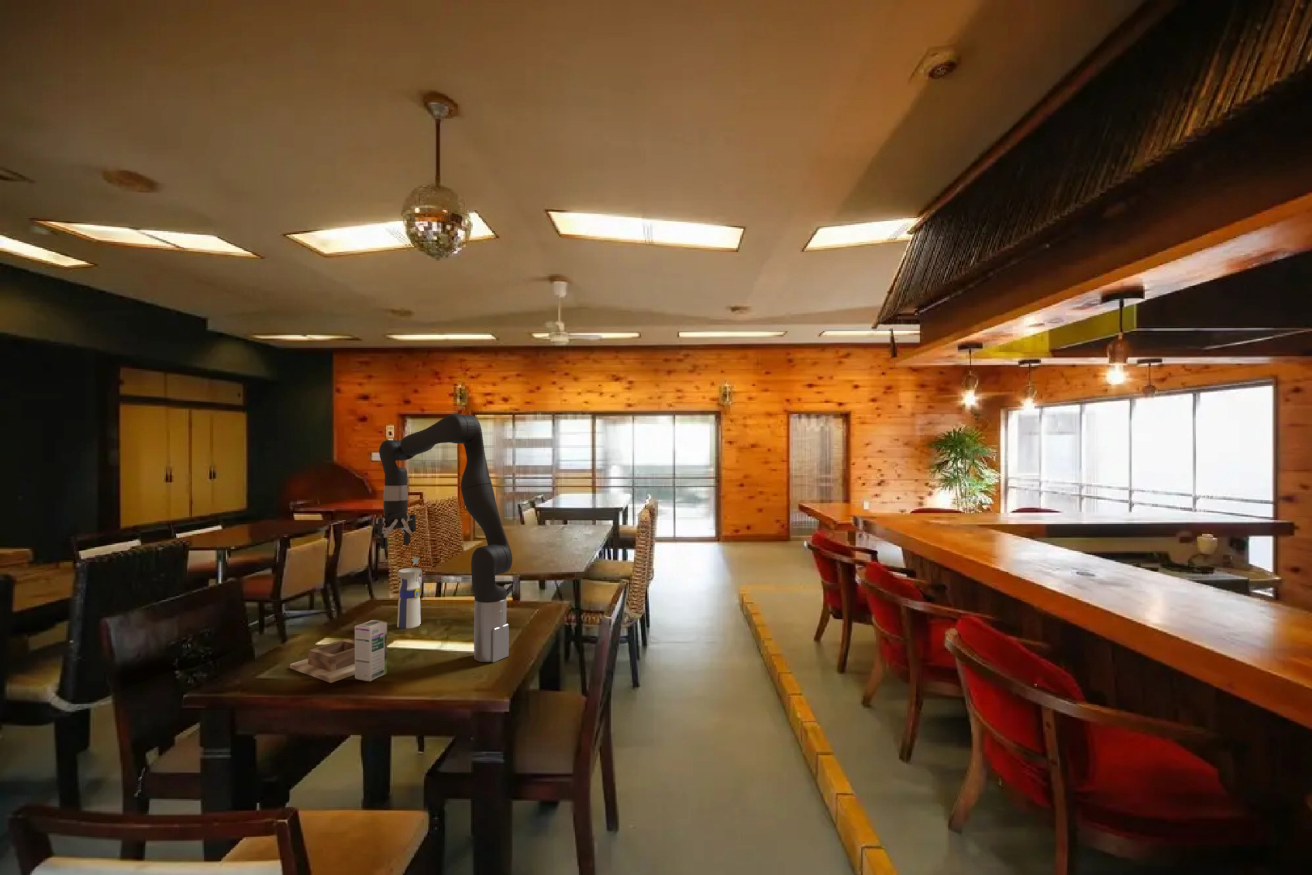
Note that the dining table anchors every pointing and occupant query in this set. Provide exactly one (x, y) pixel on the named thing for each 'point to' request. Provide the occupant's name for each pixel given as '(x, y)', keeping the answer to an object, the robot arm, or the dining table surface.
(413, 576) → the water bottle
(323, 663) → the collar board
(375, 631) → the syrup box
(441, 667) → the dining table surface
